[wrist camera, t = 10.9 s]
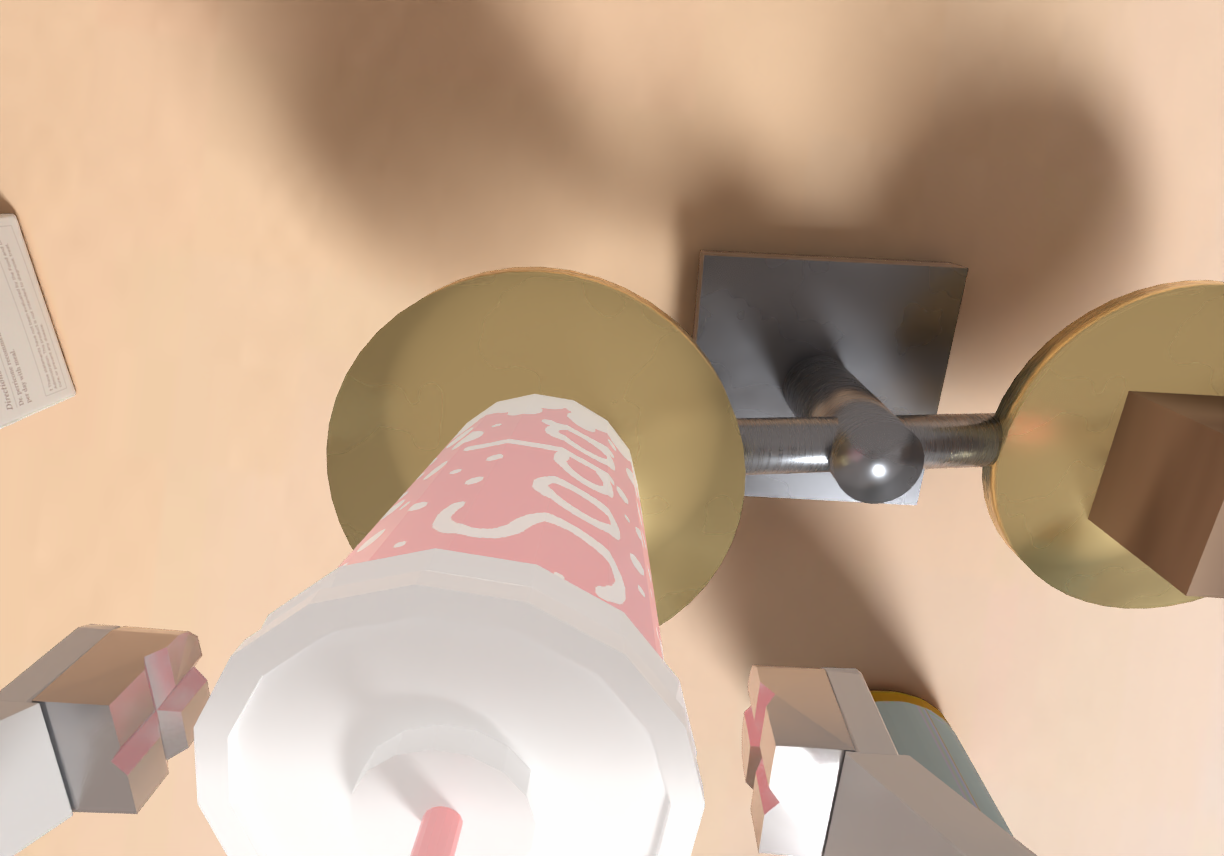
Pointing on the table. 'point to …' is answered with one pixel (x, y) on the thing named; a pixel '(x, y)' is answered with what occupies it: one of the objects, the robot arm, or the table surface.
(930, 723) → the bottle
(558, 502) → the beverage cup
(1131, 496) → the walnut block
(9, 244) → the supplement box
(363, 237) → the table surface
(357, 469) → the balance
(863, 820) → the robot arm
